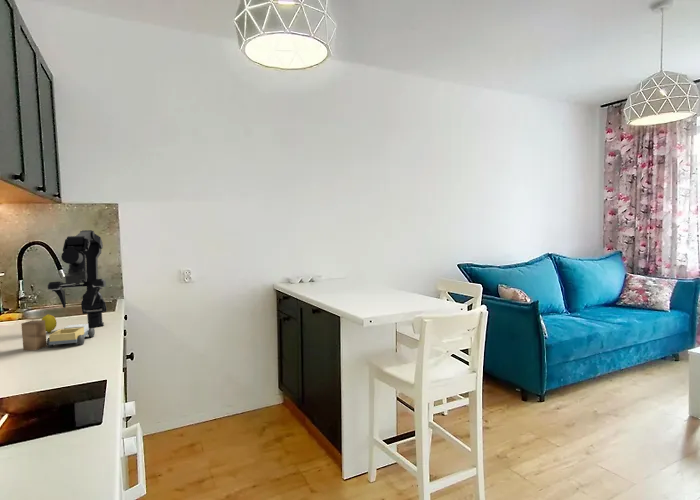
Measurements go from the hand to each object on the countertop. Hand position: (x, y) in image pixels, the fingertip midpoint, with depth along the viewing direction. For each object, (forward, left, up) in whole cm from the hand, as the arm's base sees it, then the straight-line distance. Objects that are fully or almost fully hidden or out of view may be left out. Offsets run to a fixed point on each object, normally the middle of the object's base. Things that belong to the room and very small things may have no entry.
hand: (78, 306), depth 166 cm
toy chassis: (-1, -3, -14) cm, 14 cm away
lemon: (-25, -12, -14) cm, 31 cm away
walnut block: (+1, -14, -14) cm, 20 cm away
